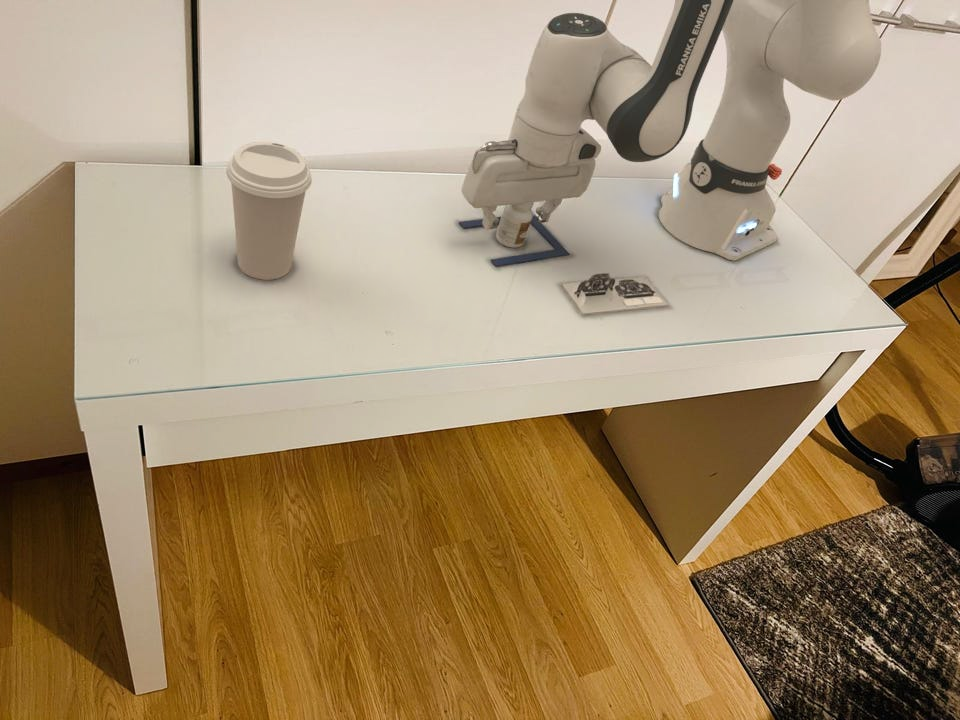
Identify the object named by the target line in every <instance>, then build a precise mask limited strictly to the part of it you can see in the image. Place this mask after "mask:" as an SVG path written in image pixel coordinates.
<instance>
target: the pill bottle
mask: <svg viewBox="0 0 960 720" xmlns="http://www.w3.org/2000/svg"><path fill="white" fill-rule="evenodd" d="M534 203H535V202H529V203H521V204H512V205H504V207H503V210H502V213H501V216H500V217H501V220H500V223H499V224H498V225H497V230H496V233H495V238H496V241H498V242H499V243H500V244H501V245H503V246H505V247H507V248H515V249H516V248H520V247H522V246H523V245H524V244H525V240H526V237H527V234H528V231H529V228H530V226H531V220H532V217H533V215H534V212H533V210H532V209H533V207H534Z"/></svg>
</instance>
